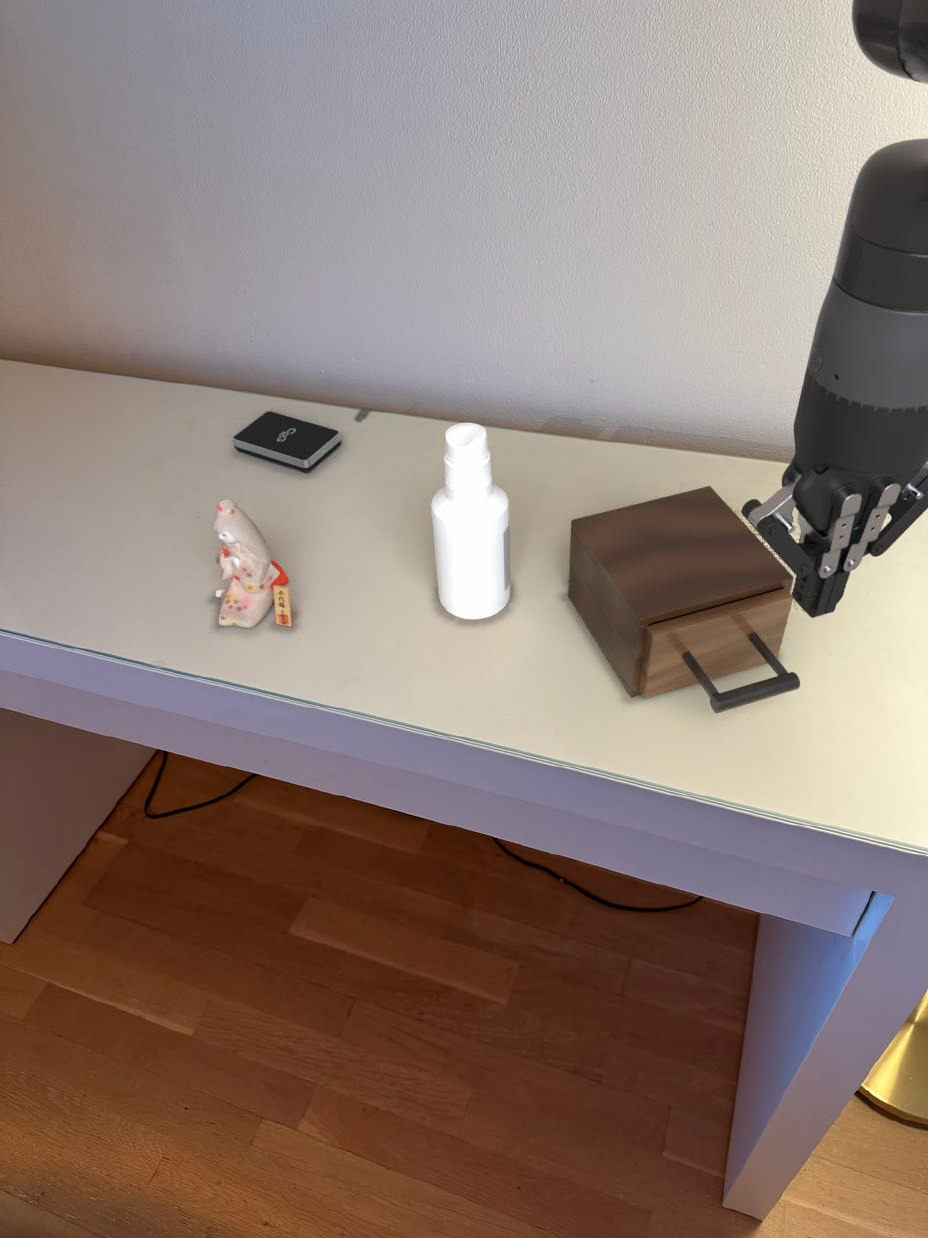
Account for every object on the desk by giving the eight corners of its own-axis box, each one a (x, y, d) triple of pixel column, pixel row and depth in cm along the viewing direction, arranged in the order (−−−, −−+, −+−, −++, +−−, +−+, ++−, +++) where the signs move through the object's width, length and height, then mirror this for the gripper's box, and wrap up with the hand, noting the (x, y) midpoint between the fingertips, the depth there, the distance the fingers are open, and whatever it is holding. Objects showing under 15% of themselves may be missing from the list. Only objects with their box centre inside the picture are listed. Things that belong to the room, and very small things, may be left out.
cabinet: (773, 656, 81) (794, 577, 74) (631, 697, 78) (639, 619, 72) (697, 562, 90) (710, 485, 84) (567, 596, 88) (570, 519, 81)
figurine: (194, 620, 88) (167, 506, 81) (238, 584, 93) (217, 475, 86) (273, 642, 84) (252, 526, 77) (314, 604, 89) (298, 492, 82)
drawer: (819, 712, 75) (840, 648, 70) (680, 754, 72) (691, 692, 67) (704, 571, 88) (715, 508, 83) (584, 603, 85) (587, 541, 80)
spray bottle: (524, 588, 89) (523, 424, 76) (485, 631, 85) (477, 465, 72) (465, 564, 92) (455, 403, 79) (424, 604, 88) (407, 441, 75)
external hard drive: (271, 424, 112) (268, 409, 111) (345, 446, 108) (343, 431, 107) (233, 453, 108) (230, 438, 107) (309, 477, 104) (306, 462, 103)
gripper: (814, 427, 45) (754, 673, 57) (1041, 372, 47) (938, 619, 59) (733, 357, 50) (694, 596, 62) (942, 311, 52) (866, 549, 64)
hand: (814, 606), depth 60 cm, fingers closed
